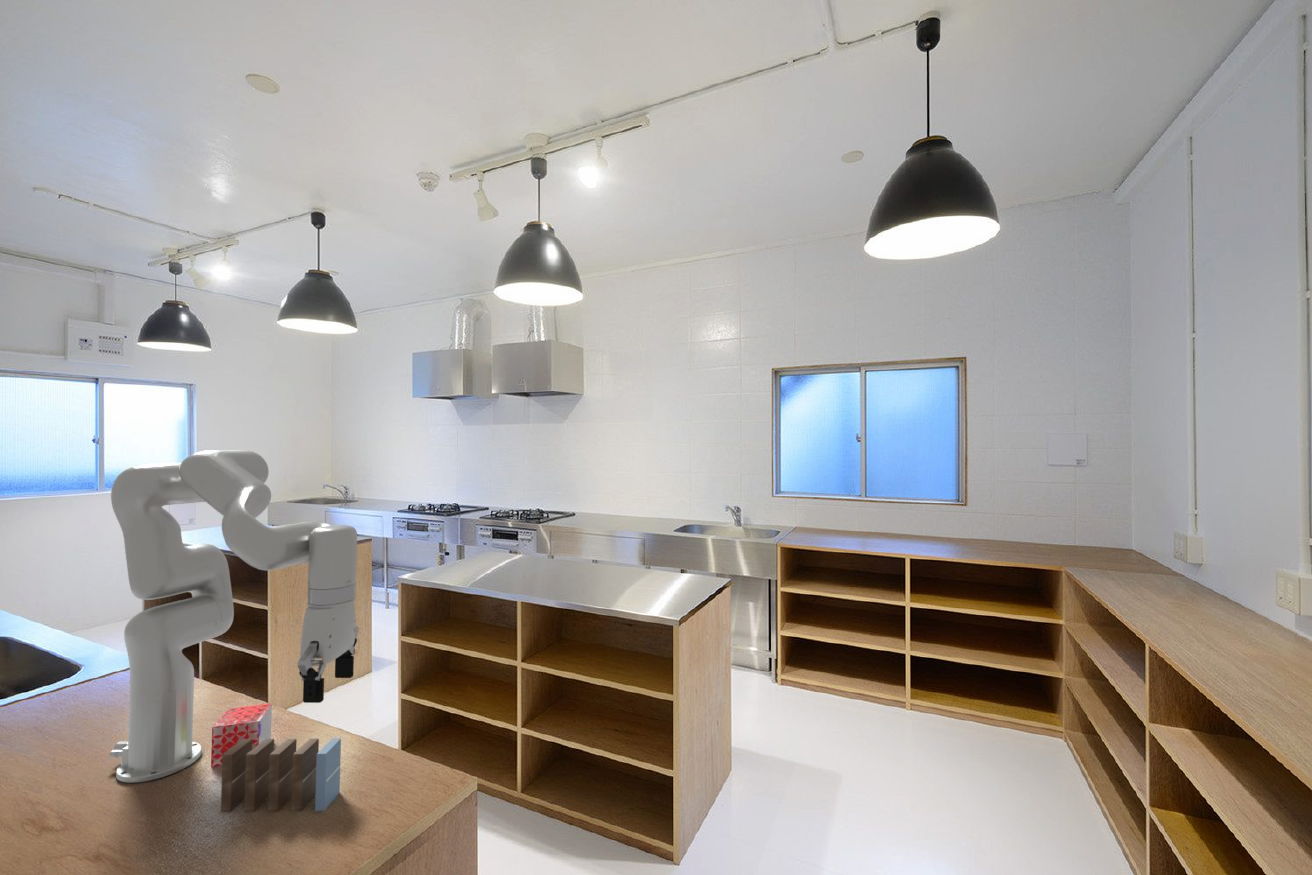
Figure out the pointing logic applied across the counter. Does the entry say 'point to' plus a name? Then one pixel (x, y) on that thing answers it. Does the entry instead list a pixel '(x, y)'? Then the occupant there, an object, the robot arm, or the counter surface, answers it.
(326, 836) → the counter surface
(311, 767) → the domino
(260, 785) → the domino
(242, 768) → the domino
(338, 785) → the domino
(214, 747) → the red patterned cube
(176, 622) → the robot arm
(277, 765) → the domino
